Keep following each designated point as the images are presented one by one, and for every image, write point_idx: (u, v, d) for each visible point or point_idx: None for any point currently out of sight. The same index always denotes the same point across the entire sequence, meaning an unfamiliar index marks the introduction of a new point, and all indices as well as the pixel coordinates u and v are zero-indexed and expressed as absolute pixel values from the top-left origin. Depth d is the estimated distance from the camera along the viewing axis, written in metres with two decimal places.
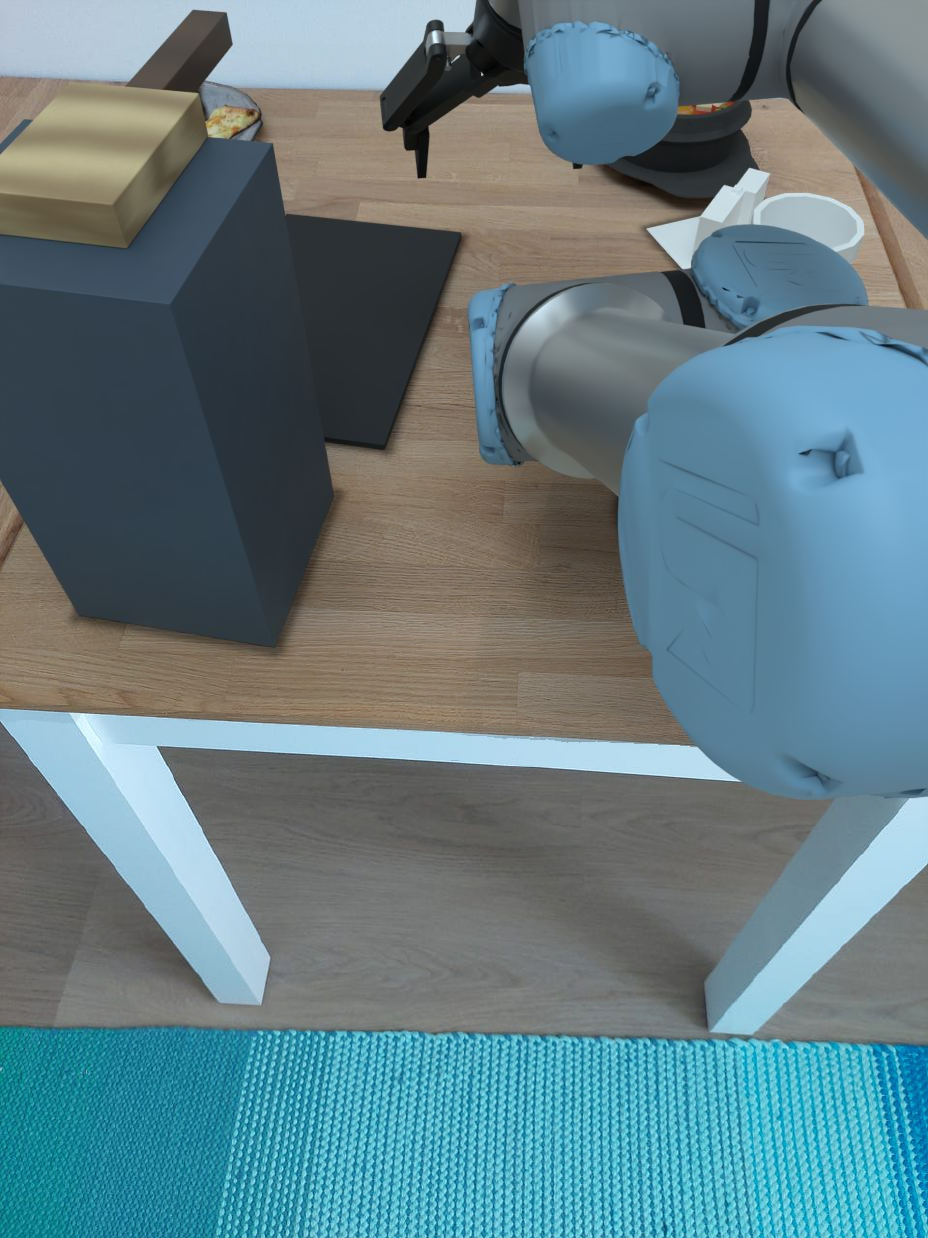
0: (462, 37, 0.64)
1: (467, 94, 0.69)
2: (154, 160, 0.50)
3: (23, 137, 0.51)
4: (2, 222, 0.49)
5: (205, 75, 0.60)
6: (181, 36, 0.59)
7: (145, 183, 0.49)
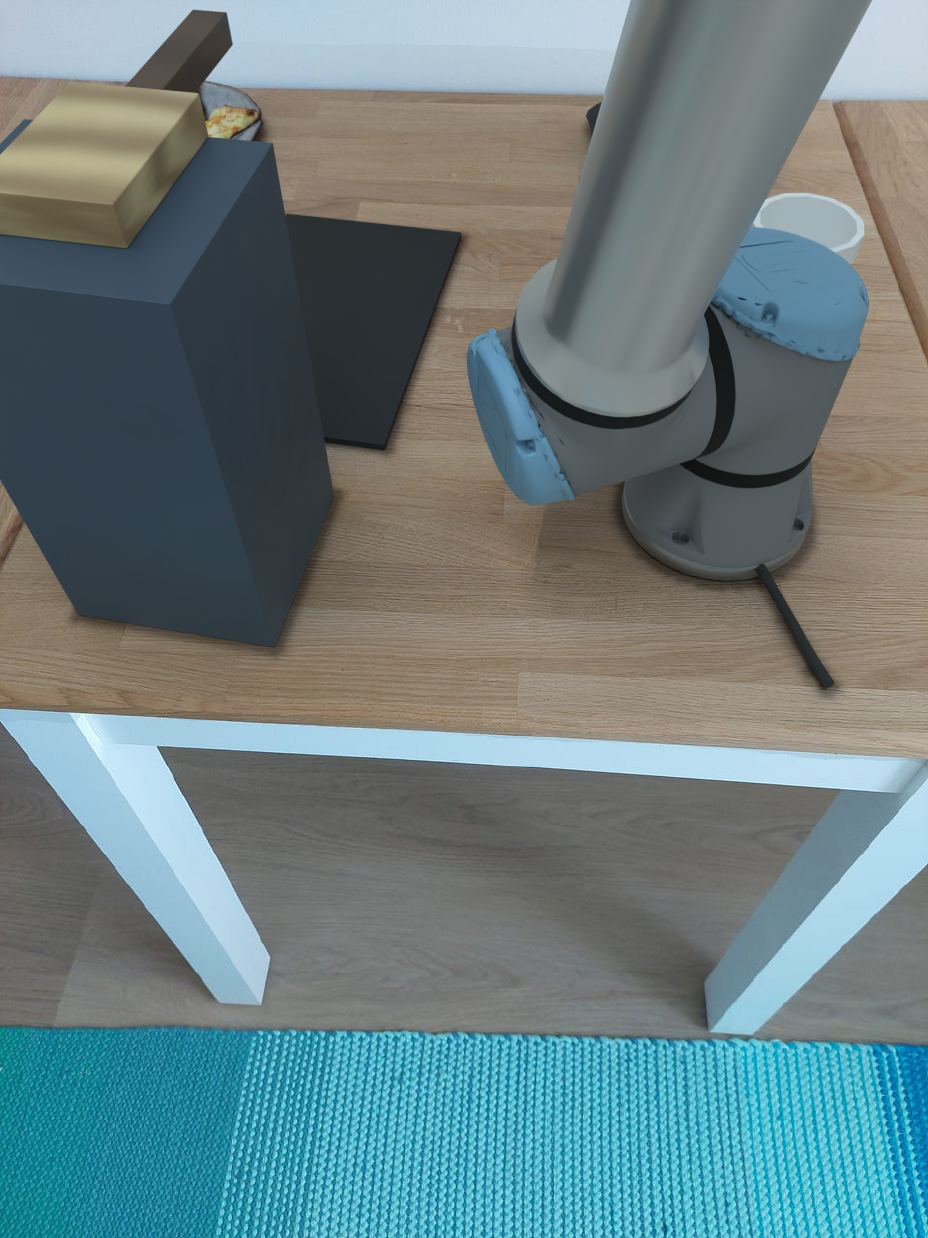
0: None
1: None
2: (154, 160, 0.50)
3: (23, 137, 0.51)
4: (2, 222, 0.49)
5: (205, 75, 0.60)
6: (181, 36, 0.59)
7: (145, 183, 0.49)
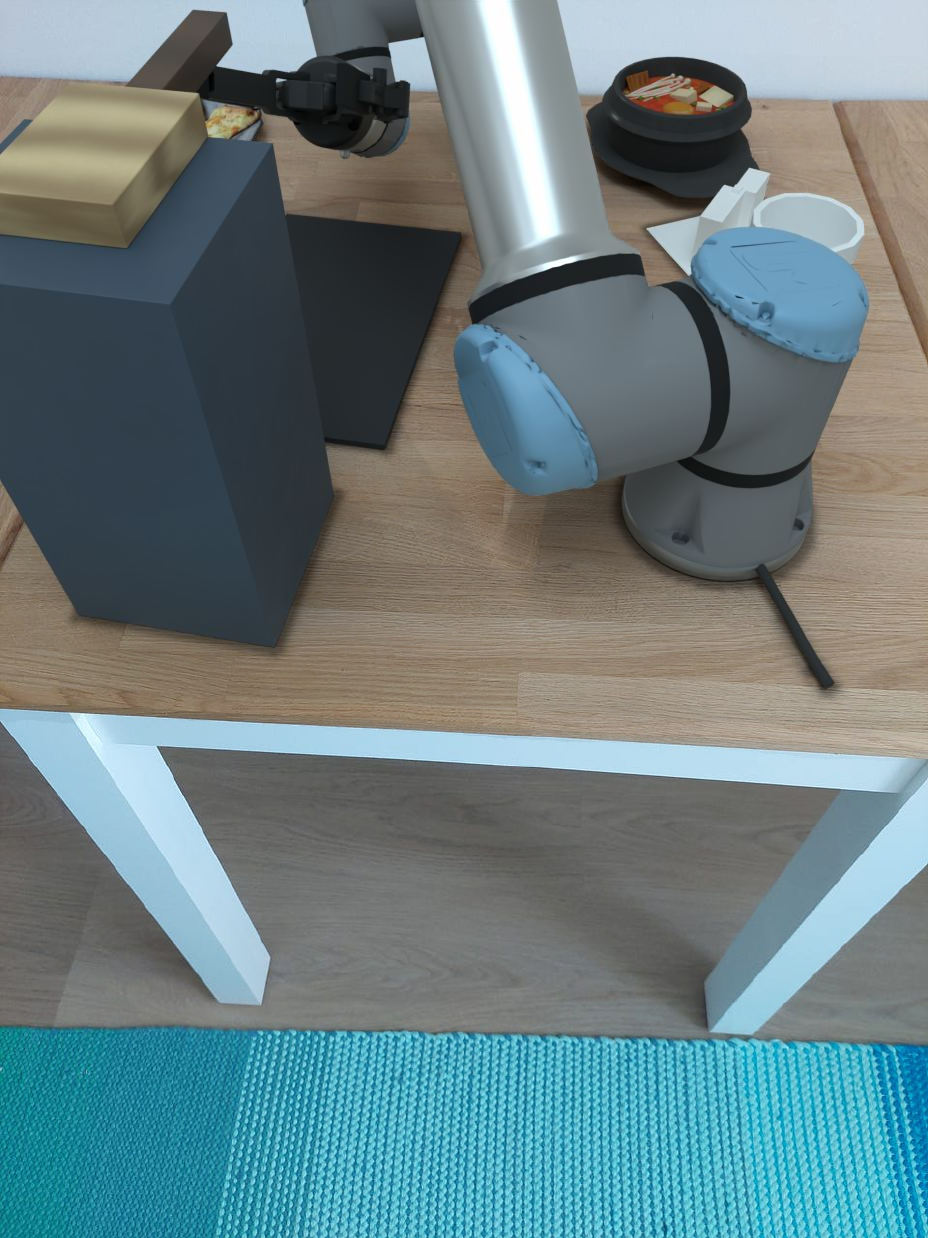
0: None
1: (261, 74, 0.80)
2: (154, 160, 0.50)
3: (23, 137, 0.51)
4: (2, 222, 0.49)
5: (205, 75, 0.60)
6: (181, 36, 0.59)
7: (145, 183, 0.49)
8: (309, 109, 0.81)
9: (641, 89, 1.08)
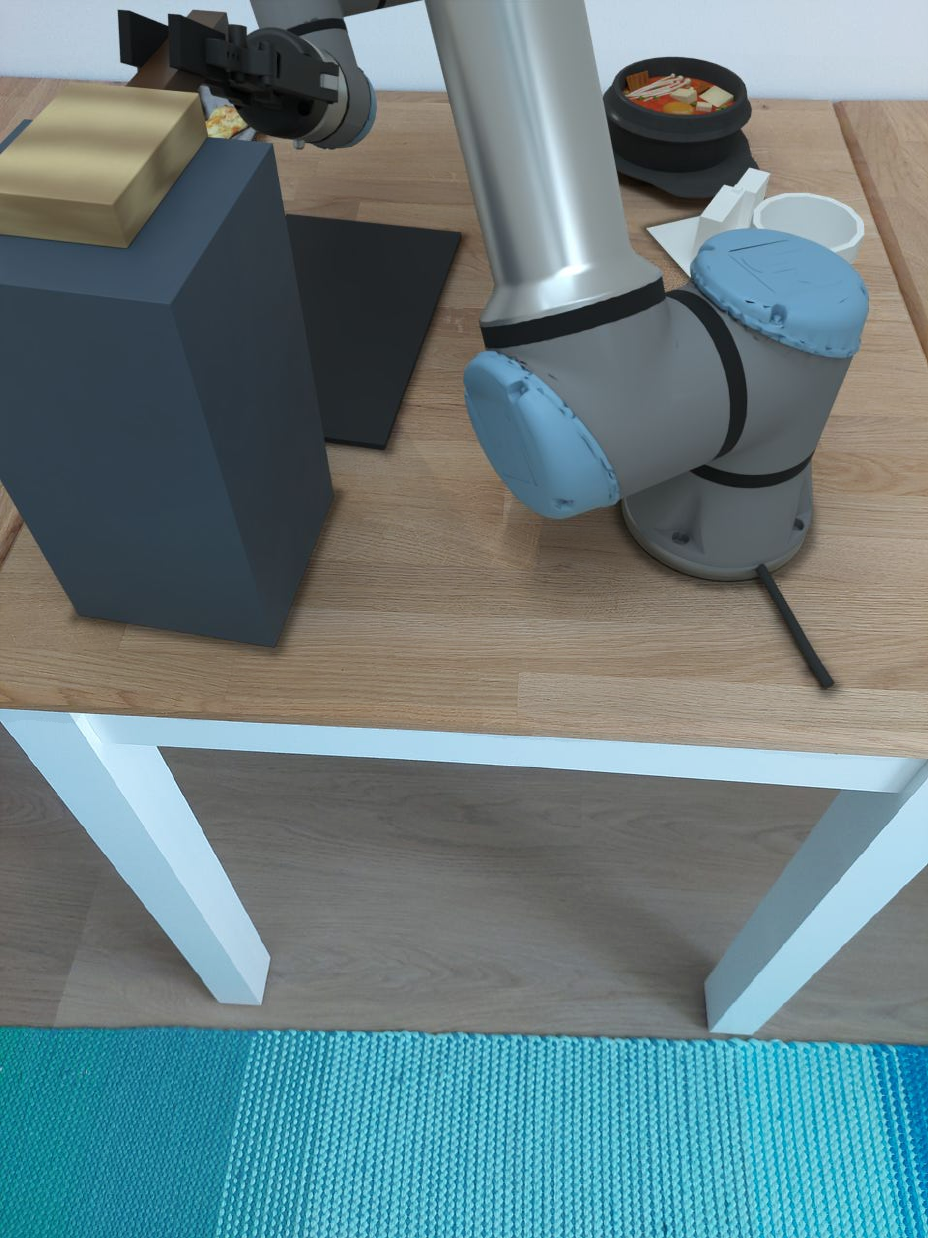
0: None
1: None
2: (154, 160, 0.50)
3: (23, 136, 0.51)
4: (2, 222, 0.49)
5: None
6: None
7: (145, 183, 0.49)
8: (248, 89, 0.68)
9: (641, 89, 1.08)
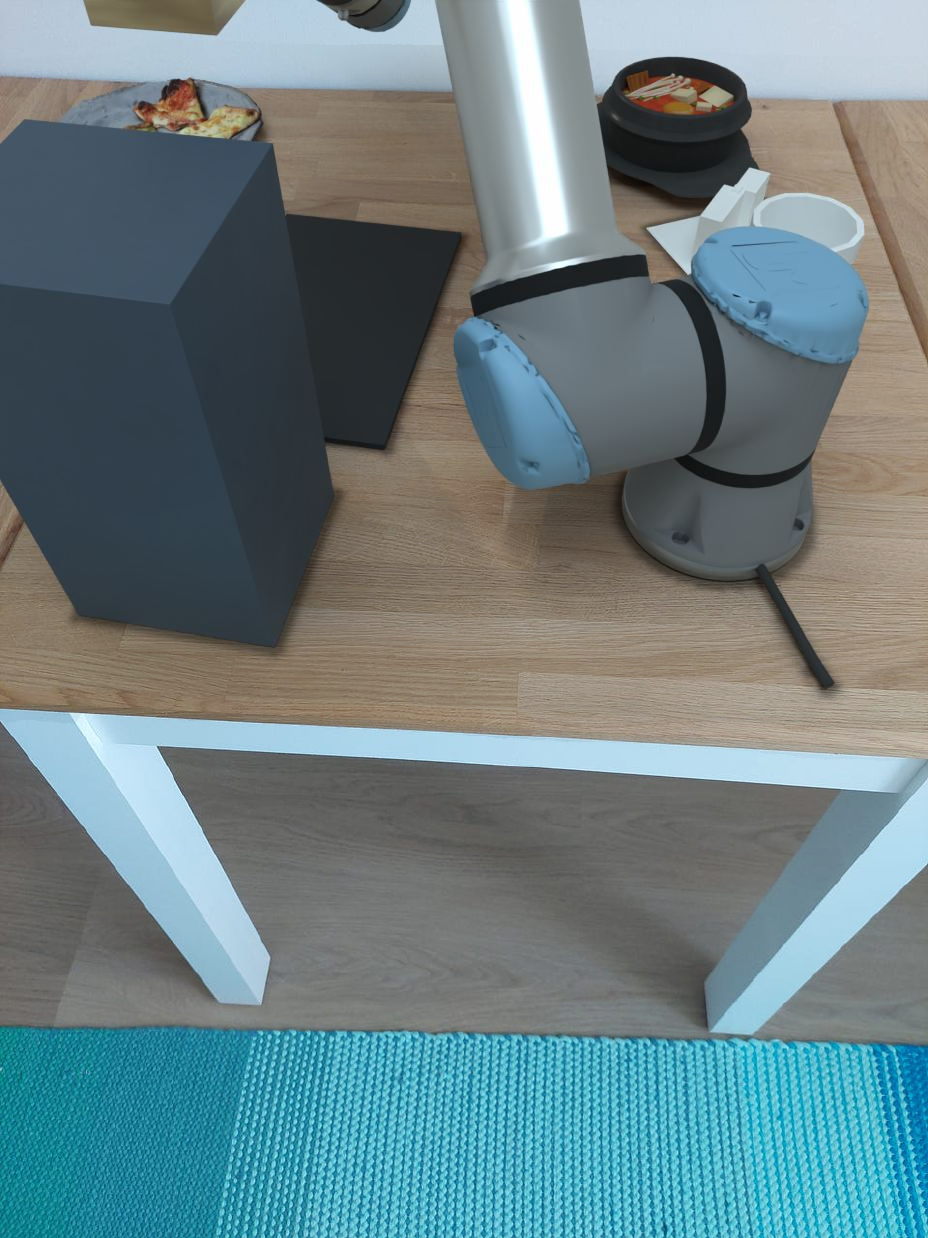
0: None
1: None
2: None
3: None
4: (105, 13, 0.55)
5: None
6: None
7: None
8: None
9: (641, 89, 1.08)
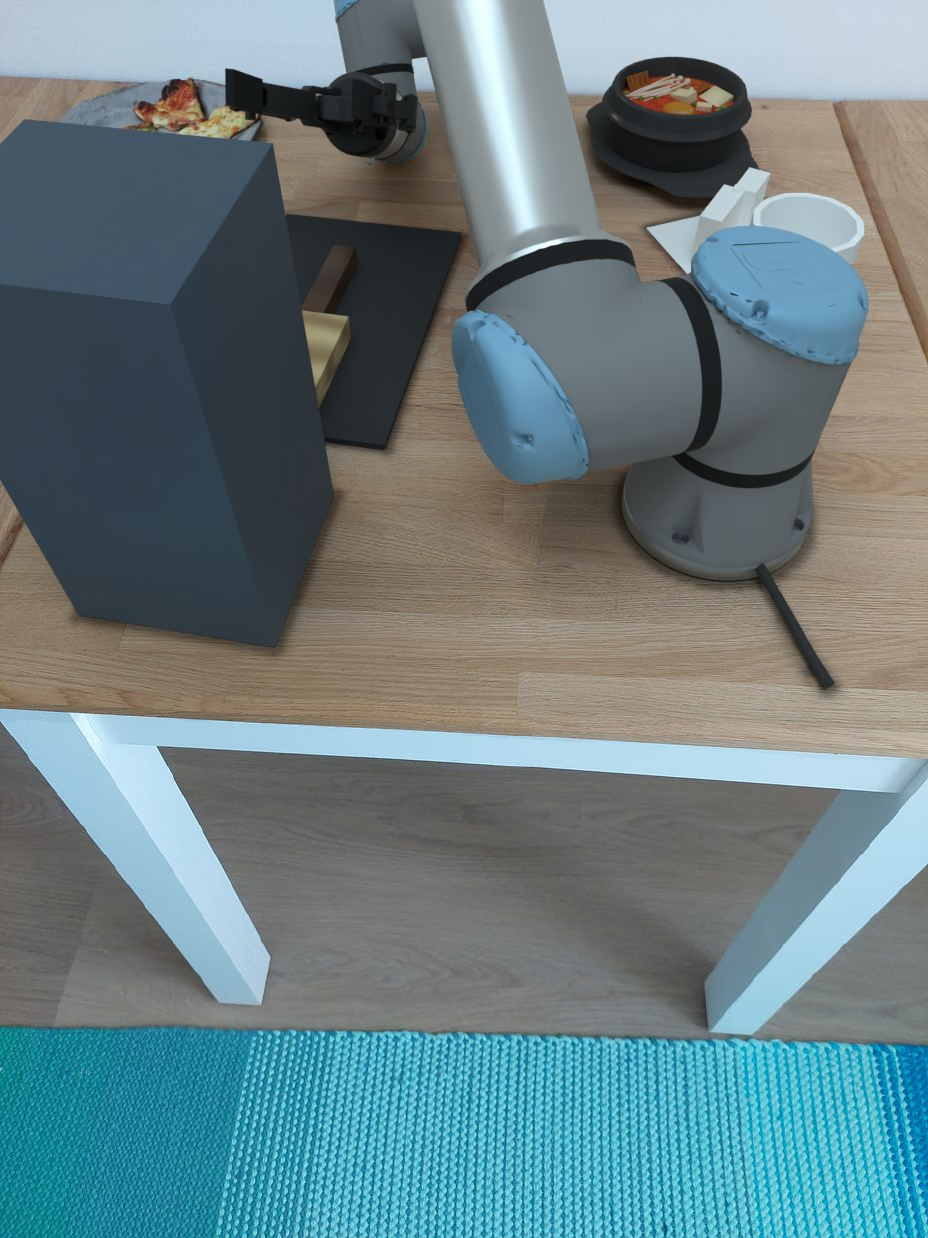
0: None
1: (303, 89, 0.88)
2: (328, 365, 0.85)
3: None
4: None
5: (343, 290, 0.95)
6: (329, 267, 0.94)
7: (323, 380, 0.85)
8: (341, 121, 0.90)
9: (641, 89, 1.08)
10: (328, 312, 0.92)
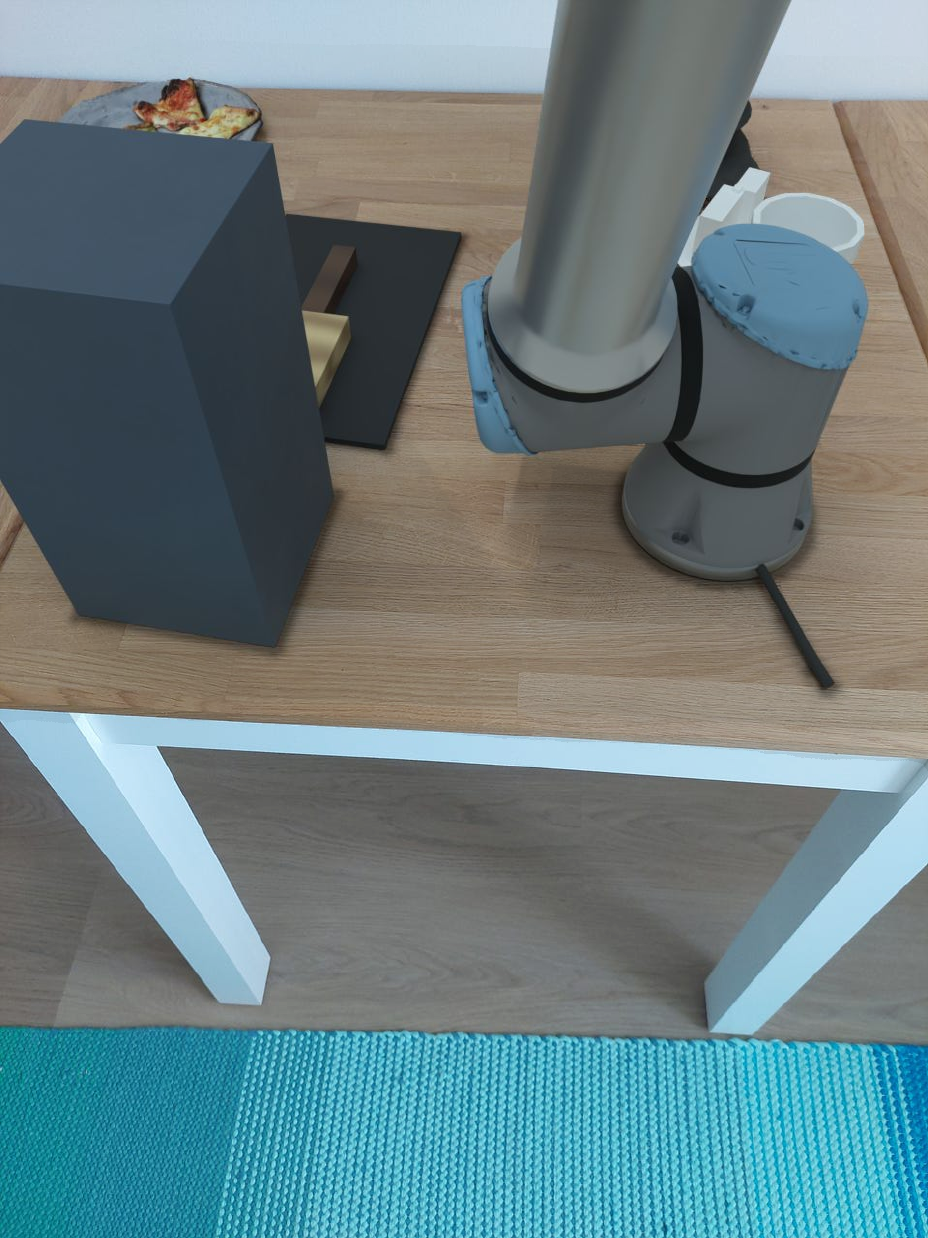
0: None
1: None
2: (328, 365, 0.85)
3: None
4: None
5: (343, 290, 0.95)
6: (329, 267, 0.94)
7: (323, 380, 0.85)
8: None
9: None
10: (328, 312, 0.92)
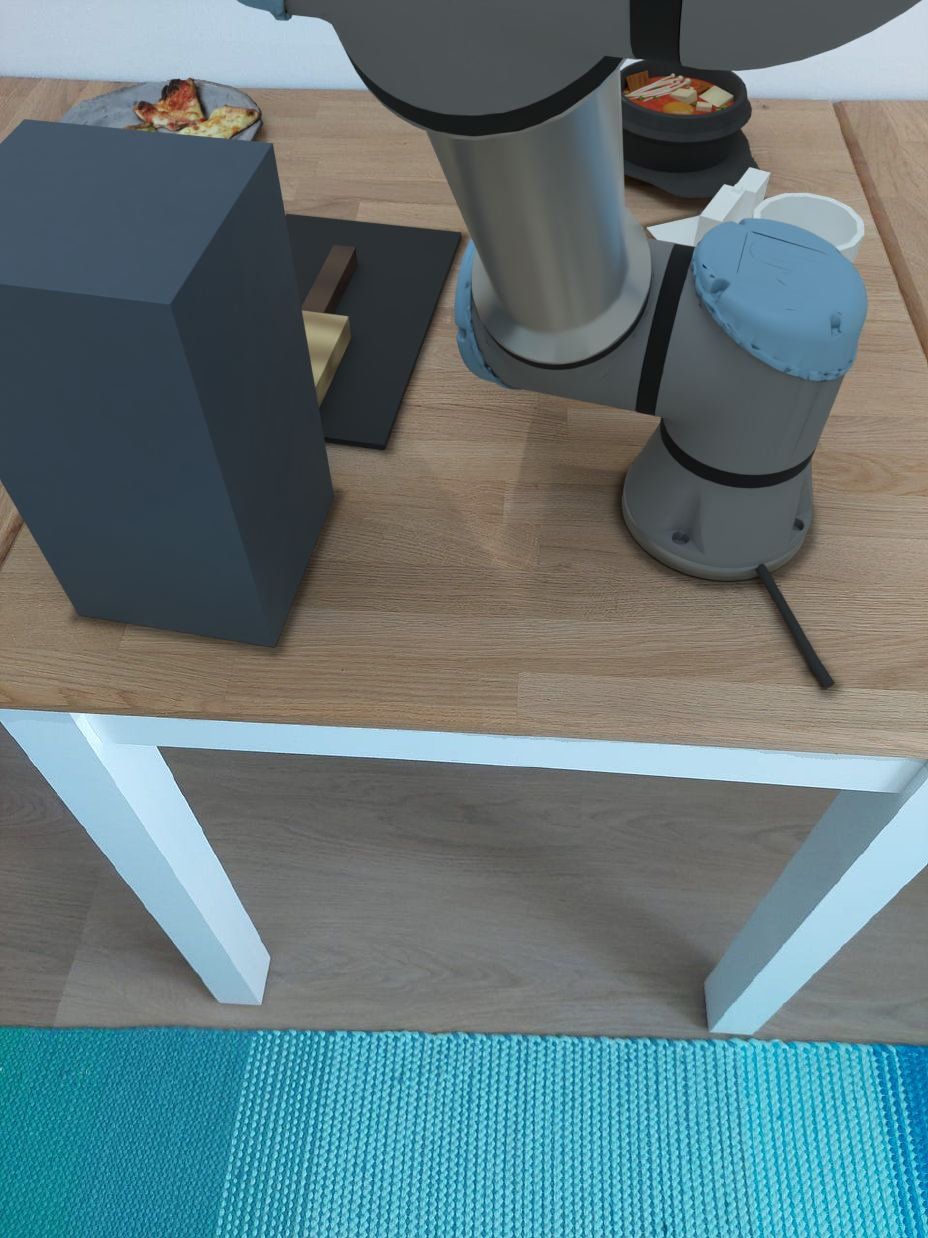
0: None
1: None
2: (328, 365, 0.85)
3: None
4: None
5: (343, 290, 0.95)
6: (329, 267, 0.94)
7: (323, 380, 0.85)
8: None
9: (641, 89, 1.08)
10: (328, 312, 0.92)
